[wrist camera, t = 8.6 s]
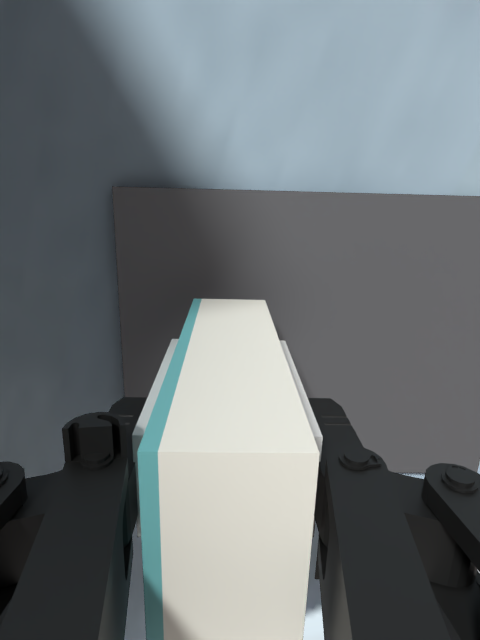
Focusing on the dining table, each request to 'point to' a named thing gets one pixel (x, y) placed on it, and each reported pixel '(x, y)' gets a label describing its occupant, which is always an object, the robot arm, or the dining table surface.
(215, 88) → the dining table surface
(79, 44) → the dining table surface
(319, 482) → the robot arm
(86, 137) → the dining table surface
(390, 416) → the mat
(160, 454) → the teal white block
